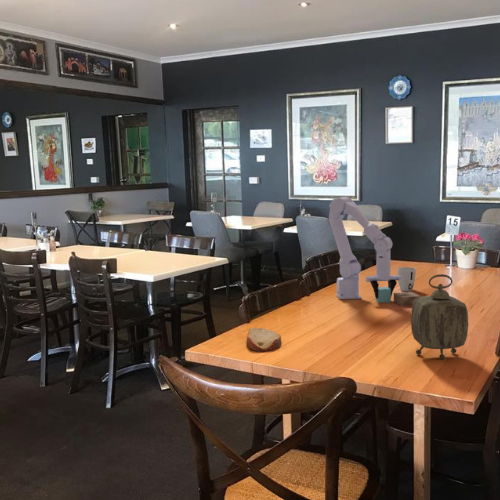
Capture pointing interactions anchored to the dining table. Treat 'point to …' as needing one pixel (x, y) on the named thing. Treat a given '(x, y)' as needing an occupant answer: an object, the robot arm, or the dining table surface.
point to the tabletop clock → (439, 320)
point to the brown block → (405, 298)
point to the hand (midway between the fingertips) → (383, 297)
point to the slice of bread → (263, 340)
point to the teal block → (384, 294)
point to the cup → (406, 278)
